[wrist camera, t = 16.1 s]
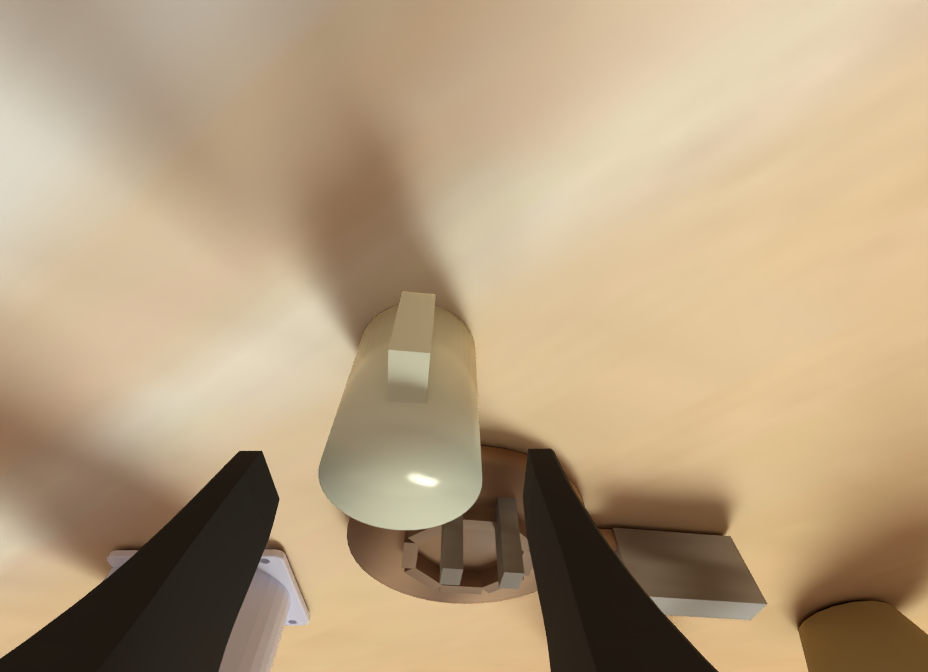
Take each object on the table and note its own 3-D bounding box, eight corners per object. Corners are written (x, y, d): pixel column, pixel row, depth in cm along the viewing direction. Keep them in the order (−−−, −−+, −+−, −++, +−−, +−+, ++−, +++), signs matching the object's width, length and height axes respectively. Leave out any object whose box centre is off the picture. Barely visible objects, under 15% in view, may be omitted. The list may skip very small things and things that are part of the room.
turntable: (352, 578, 26) (333, 668, 22) (349, 434, 19) (323, 527, 15) (679, 599, 27) (713, 686, 24) (782, 472, 21) (851, 565, 17)
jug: (468, 400, 18) (472, 534, 13) (361, 392, 18) (324, 525, 13) (488, 267, 15) (502, 380, 10) (358, 255, 15) (305, 364, 10)
